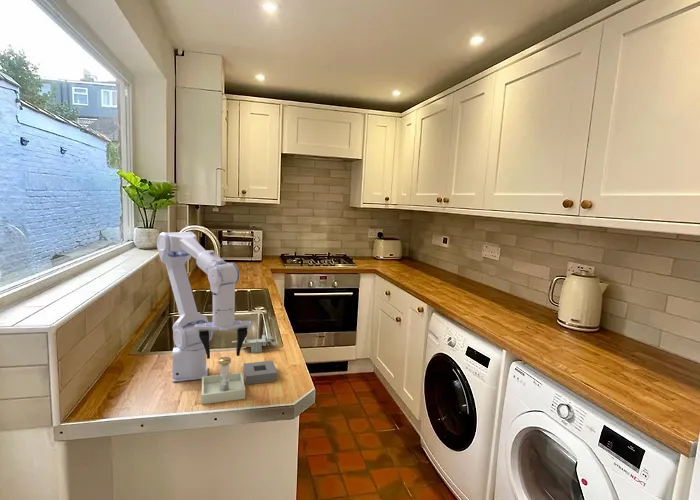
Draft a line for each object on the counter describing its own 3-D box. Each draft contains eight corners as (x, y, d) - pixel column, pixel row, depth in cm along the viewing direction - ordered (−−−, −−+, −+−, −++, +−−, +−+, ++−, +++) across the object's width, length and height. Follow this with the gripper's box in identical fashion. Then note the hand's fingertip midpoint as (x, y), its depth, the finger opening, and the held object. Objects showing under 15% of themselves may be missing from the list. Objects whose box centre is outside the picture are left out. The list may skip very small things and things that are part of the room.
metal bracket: (278, 335, 134) (234, 338, 129) (278, 351, 134) (234, 356, 128) (271, 333, 148) (231, 336, 142) (271, 348, 147) (231, 352, 141)
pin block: (246, 384, 109) (246, 376, 108) (243, 371, 117) (243, 363, 117) (277, 380, 112) (277, 372, 111) (272, 367, 120) (272, 360, 120)
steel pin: (218, 392, 102) (218, 362, 101) (218, 387, 105) (218, 357, 104) (230, 391, 103) (231, 361, 102) (230, 386, 106) (230, 356, 105)
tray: (201, 404, 97) (201, 395, 97) (202, 384, 107) (202, 376, 107) (245, 398, 101) (245, 389, 100) (241, 380, 111) (241, 372, 111)
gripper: (194, 313, 95) (194, 364, 96) (252, 310, 100) (252, 358, 102) (195, 306, 101) (195, 354, 103) (250, 303, 106) (249, 349, 108)
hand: (223, 355), depth 103 cm, fingers open, 7 cm apart
